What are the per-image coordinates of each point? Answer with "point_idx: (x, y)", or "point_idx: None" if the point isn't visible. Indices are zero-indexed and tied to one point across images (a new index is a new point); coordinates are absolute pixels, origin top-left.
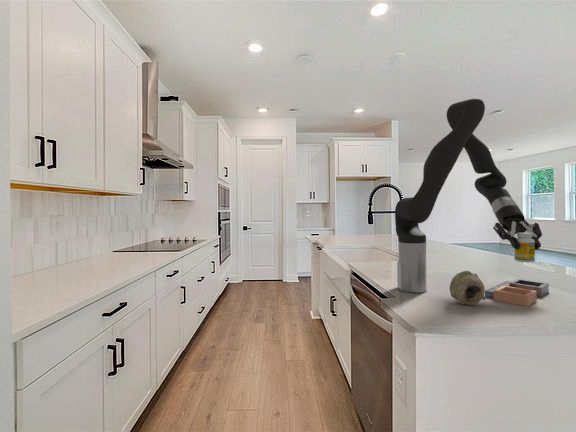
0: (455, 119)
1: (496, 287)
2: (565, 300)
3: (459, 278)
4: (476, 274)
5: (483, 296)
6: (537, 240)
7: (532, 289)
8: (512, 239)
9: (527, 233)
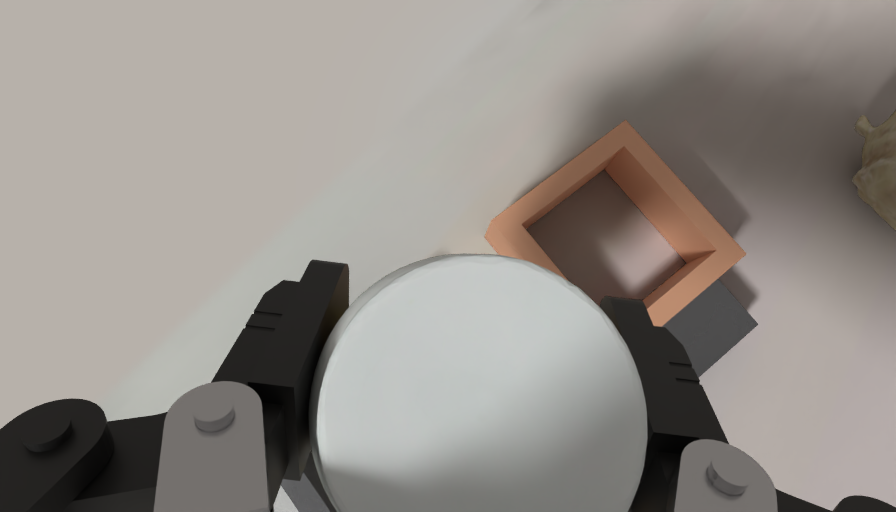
0: None
1: None
2: (314, 233)
3: None
4: None
5: (874, 127)
6: (251, 353)
7: None
8: (706, 427)
9: (522, 262)
